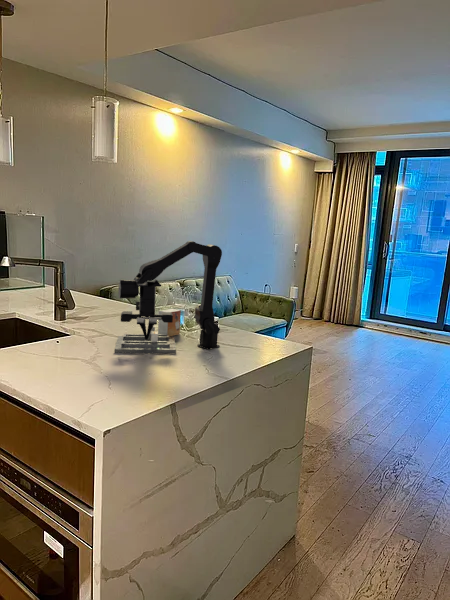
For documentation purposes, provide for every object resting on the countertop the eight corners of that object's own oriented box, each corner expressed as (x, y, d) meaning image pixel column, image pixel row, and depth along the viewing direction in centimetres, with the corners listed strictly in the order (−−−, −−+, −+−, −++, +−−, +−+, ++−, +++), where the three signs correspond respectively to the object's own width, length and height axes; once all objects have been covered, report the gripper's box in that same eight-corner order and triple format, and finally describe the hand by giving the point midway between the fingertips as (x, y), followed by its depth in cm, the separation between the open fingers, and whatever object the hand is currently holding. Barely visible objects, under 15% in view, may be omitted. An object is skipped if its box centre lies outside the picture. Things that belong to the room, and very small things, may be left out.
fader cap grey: (154, 337, 182) (154, 324, 181) (154, 339, 179) (154, 326, 178) (148, 337, 181) (148, 324, 181) (148, 339, 178) (148, 326, 177)
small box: (167, 337, 189) (167, 312, 187) (157, 334, 192) (158, 310, 190) (180, 334, 195) (181, 310, 193) (170, 331, 198) (171, 308, 196)
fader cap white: (157, 344, 173) (157, 331, 172) (157, 346, 169) (157, 333, 168) (151, 344, 172) (151, 331, 171) (150, 346, 169) (151, 333, 168)
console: (173, 339, 186) (173, 333, 185) (175, 353, 167) (176, 346, 167) (118, 339, 182) (118, 332, 182) (114, 353, 164) (114, 346, 163)
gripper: (172, 295, 176) (170, 334, 179) (122, 293, 173) (122, 333, 176) (173, 300, 165) (172, 342, 168) (120, 299, 162) (120, 341, 165)
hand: (146, 339), depth 170 cm, fingers closed
